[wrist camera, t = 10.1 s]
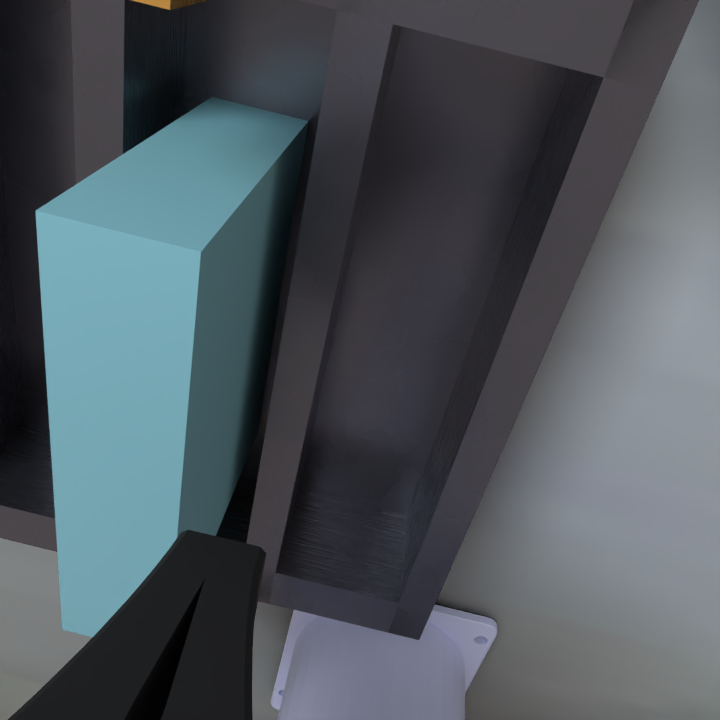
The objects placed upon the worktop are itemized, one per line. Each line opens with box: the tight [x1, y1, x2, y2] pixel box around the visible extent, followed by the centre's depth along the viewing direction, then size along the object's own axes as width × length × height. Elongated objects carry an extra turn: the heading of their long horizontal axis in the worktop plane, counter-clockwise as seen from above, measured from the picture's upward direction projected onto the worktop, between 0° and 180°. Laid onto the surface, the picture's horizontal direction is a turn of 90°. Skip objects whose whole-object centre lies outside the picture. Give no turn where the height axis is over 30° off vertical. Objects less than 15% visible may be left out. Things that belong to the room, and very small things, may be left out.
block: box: [36, 97, 308, 637], centre depth 15 cm, size 10×2×8 cm, turn 168°
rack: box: [0, 0, 699, 640], centre depth 16 cm, size 22×15×8 cm
